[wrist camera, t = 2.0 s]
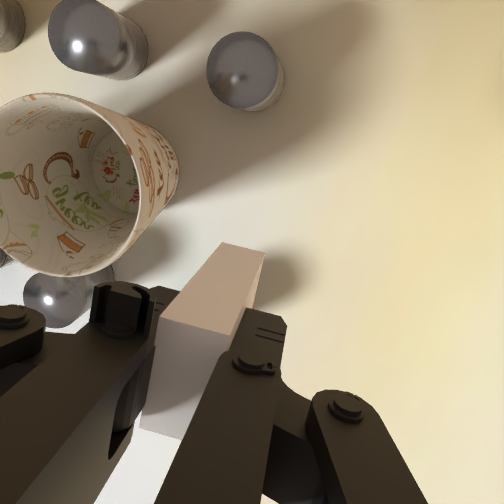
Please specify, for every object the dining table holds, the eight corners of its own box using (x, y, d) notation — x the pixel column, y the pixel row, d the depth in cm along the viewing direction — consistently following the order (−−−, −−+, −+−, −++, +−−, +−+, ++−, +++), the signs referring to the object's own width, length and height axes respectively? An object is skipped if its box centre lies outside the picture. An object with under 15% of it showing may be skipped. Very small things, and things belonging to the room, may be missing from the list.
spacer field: (-42, 264, 34) (-100, 287, 30) (-28, -16, 29) (-95, -44, 25) (226, 336, 33) (211, 371, 28) (290, 54, 28) (285, 40, 23)
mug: (199, 234, 32) (148, 281, 22) (22, 229, 33) (-98, 271, 24) (195, 103, 29) (137, 91, 20) (6, 103, 31) (-132, 93, 21)
